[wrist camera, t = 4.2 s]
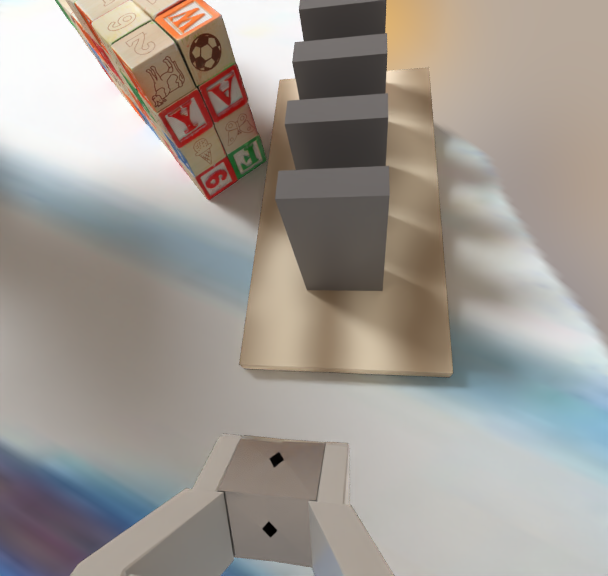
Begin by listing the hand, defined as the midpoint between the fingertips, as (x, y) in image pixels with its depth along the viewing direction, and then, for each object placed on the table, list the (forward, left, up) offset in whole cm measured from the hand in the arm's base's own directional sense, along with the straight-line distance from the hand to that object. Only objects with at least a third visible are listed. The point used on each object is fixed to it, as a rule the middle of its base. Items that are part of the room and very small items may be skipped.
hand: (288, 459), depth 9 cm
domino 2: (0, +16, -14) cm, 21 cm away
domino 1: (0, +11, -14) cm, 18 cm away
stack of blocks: (-16, +29, -16) cm, 37 cm away
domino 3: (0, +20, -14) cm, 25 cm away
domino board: (0, +18, -15) cm, 24 cm away
